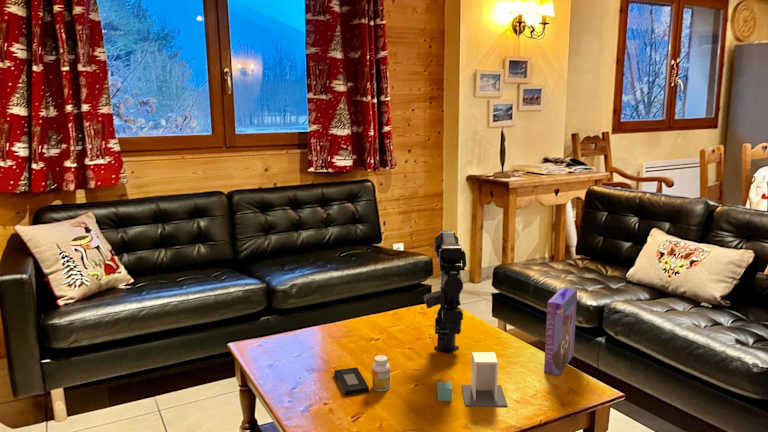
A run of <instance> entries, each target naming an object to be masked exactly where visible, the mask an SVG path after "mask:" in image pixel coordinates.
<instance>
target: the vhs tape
mask: <svg viewBox="0 0 768 432" xmlns="http://www.w3.org/2000/svg"><path fill="white" fill-rule="evenodd" d="M333 375H334V377H335V378H336V381H337V382H338V384H339V387H340V388H341V390H342V392H343V395H344V397H349V396H353V395H359V394H361V395H362V394H367V393H370V386H369V385H368V383H367V382H366V380H365V378H364V377H363V375H362V373H361V371H360V370H359V368H358V367H357V366H356V367H349V368H342V369H341V368H340V369H337V370H334V374H333Z"/></svg>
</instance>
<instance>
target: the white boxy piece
mask: <svg viewBox="0 0 768 432" xmlns="http://www.w3.org/2000/svg"><path fill="white" fill-rule="evenodd" d="M498 373H499V361H498V358H497V355H496V353H495V352H493V351H489V352H487V351H485V352H484V351H478V352H477V351H472V352H471V379H470V380H471V383H470V385H471V390H472V395H473V399H474V400H476V390H492V392H493V396H494V399H495V401H497V385H498V376H499V375H498Z"/></svg>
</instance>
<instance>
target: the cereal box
mask: <svg viewBox="0 0 768 432" xmlns="http://www.w3.org/2000/svg"><path fill="white" fill-rule="evenodd" d="M577 301H578V288H575V287H569V286H562V287H561V288H560V289H559V290H558V291H557V292H556V293H555V294H554V295H553V296H552V297H551V298H549V300H548V301H547V303H546V304H547V305H546V306H547V307H546V322H545V328H546V329H545V345H544V363H543V364H544V367H543V373H545V374H549V375H553V376H558V377H560V376H561V374H562V372H563V371H564V369H565V368H566V367H567V365H568V364H569V363H570V361H571V360H572V358H573V357H574V352H575V351H574V350H575V336H576V333H575V332H576V318H577V303H578V302H577Z"/></svg>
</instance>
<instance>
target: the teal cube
mask: <svg viewBox="0 0 768 432" xmlns="http://www.w3.org/2000/svg"><path fill="white" fill-rule="evenodd" d="M436 390H437V393H436V394H437V401H439V402H443V401H444V402H452V401H453V385H452V381H437V389H436Z"/></svg>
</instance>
